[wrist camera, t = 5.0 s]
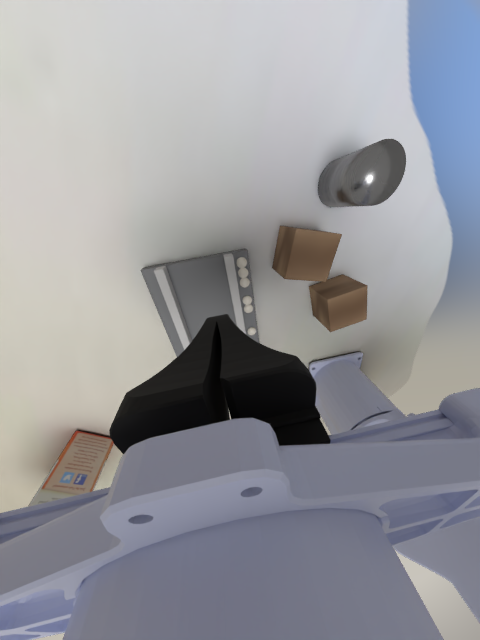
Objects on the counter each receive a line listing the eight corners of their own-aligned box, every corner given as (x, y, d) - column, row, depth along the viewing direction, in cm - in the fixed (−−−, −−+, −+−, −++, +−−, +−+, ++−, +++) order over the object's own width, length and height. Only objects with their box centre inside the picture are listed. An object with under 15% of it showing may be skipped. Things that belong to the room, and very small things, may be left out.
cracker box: (74, 427, 28) (-184, 837, 9) (117, 436, 30) (-23, 779, 12) (48, 474, 32) (-160, 811, 14) (88, 479, 34) (-46, 773, 16)
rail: (261, 366, 27) (265, 378, 25) (190, 382, 26) (189, 395, 24) (245, 248, 19) (249, 252, 17) (143, 267, 18) (136, 274, 16)
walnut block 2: (343, 303, 24) (366, 319, 20) (312, 314, 24) (330, 332, 20) (342, 274, 22) (367, 285, 18) (308, 286, 22) (327, 300, 18)
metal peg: (352, 203, 18) (397, 200, 14) (316, 210, 18) (350, 209, 14) (359, 155, 16) (412, 134, 12) (318, 162, 16) (358, 143, 12)
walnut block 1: (306, 270, 21) (326, 281, 17) (271, 267, 20) (284, 279, 17) (317, 230, 19) (341, 234, 16) (279, 225, 18) (296, 228, 15)
